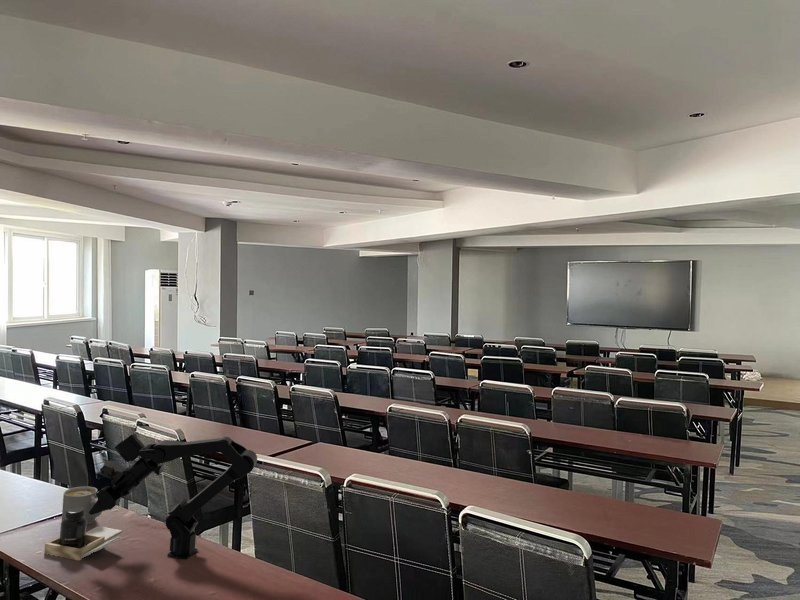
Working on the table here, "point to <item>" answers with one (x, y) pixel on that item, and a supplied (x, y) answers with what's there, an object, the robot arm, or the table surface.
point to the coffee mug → (81, 501)
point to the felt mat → (104, 532)
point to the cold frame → (70, 552)
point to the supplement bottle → (73, 528)
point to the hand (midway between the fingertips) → (97, 507)
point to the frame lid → (101, 546)
